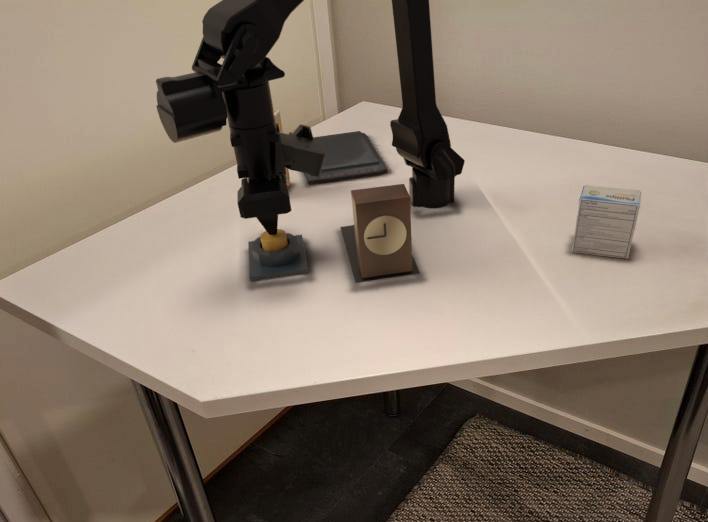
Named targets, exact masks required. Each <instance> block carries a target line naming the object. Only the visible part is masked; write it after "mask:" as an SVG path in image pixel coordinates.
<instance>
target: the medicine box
mask: <svg viewBox="0 0 708 522" xmlns="http://www.w3.org/2000/svg"><path fill="white" fill-rule="evenodd" d="M641 200H642V191H641V190H639V189H631V188H621V187H611V186H599V185H589V184H584V185H583V186H582V191H581V193H580V196H579V200H578V207H577V215H576V221H575V227H574V235H573V240H572V247H571V253H577V254H585V255H593V256H600V257H610V258H617V259H624V260H628V259H629V258H630V253H631V247H632V243H633V238H634V234H635V230H636V226H637V225H636V224H637V221H638V216H639V212H640V209H641V203H642V201H641Z"/></svg>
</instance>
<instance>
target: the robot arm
mask: <svg viewBox="0 0 708 522" xmlns="http://www.w3.org/2000/svg"><path fill="white" fill-rule="evenodd" d="M304 1H305V0H220V1H219V2H217V3H216V4H214V5H213V6H211V7H209V9H207V11H206V13H204V16H203V17H202V18H203V19H202V21H201V22H202V38H201V41H200V44H199V47H198V50H197V53H196V55H195V57H194V60H193V62H192V65H191V70H192V71H193V72H191V73H185V74H182V75H178V76H164V77H159V78H156V80H155V83H156V88H157V91H156V103H157V105H156V106H155V107H156V110H157V114H158V117H159V119H160V123H161V125H162V127H163V129H164V131H165V133H166V135H167V136H168V138H169V139H170V141H171V142H172V143H173V144H176V143H180V142H184V141H187V140H188V141H189V140H192V139H195V138H199V137H203V136H207V135H210V134H214V133H218V132H221V131H222V129H223V127H226V126H227V123H228V128H229V140H230V145H231V147H232V148H233V151H234V156H235V161H236V172H237V177H238V179H241V181H240V182H241V185H240V188H239V189H238V190H237V192H236V193H237V207H238V212H239V216H240V218H242V219H243V220H247V219H254V218H256V219H257V220H258V222H259V223H260V225H261V226H262V227H263V229H264V230H265V231H267V232H268V234H269V235H275V234H277V229H278V224H279V223H278V222H279V216H280V215H286V214H289V213H290V212H292V204H291V199H290V193H289V192H290V191H289V187H288V185H286V183H287V181H286V169H285V167H286V168H288V170H289V171H294V172H299V173H308V174H310V176H315V177H318V176H320V174H321V170H322V166H323V162H324V158H325V154H326V152H325V149H324V145H323V143H322V142H320V141H319V139H316V140H314V139H313V137H314V135H313V131H312V128H311V126H309V125H306V124H305V125H304V124H301V123H300V124H299V125H298V126H297V127H296V129H295V130H294V131H292V132H290V131H289V133H284V132H283V133H280V131H279V125H278V123H276V121H275V116H274V110H275V109H274V104H273V99H272V93H271V87H270V81H274V80H278V79H282V78H284V77H285V75H286V73H285V71H284V70H283V69H281V68H279V67H278V66H277V65H276V64H275V63H274V62H273V61H272V60H271V59H270V57H268V54H269V53H270V52H271V50H272V49H273V47H274V46H275V45H276V43H277V42H278V41H279V39H280V37H281V34H282V31H283V29H284V26H285V22H286V21H287V20H288V18H289V17H290V15H291V14H292V13H293V12H294V11H295V10H296V9H297V8H298V7H299V6H300V5H301V4H302V3H303V2H304ZM391 7H392V16H393V25H394V35H395V36H394V37H395V45H396V46H395V47H396V54H397V64H398V74H399V85H400V92H401V94H400V95H401V103H402V107H401V110H400V113H399V115H398V117H397V118H396V119H391V120H390V122H389V126H390V129H391V133H392V141H391V146H392V147H394V148H395V149H396V153H397V154H398V155H399V156H400V157H402V158H403V160H404V163H405V165H406V166H408V167H411V175H412V176H410V177H409V179H408V184H409V185H408V188H409V189H408V190H409V191H408V193H409V196H410V205H411V206H412V207H414V208H426V209H440V208H441V209H442V208H444V207H446V206H448V205H449V204H453V203H455V184H456V183H455V182H456V181H455V179H456V176H459V175H461V174H462V173H463V168H464V165H465V162H466V161H465V159H464V158H463V157H462V156H461V155H459V154H458V152H457V151H455V150H454V149H453V148H452V144H451V138H450V134H449V129H448V125H447V123H446V121H445V119H444V117H443V115H442V113H441V111H440V109H439V107H438V105H437V95H436V81H435V67H434V66H435V65H434V52H433V36H432V24H431V23H432V22H431V9H430V0H391ZM221 59H223V61H222V63H219V61H220V60H221Z"/></svg>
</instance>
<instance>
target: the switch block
mask: <svg viewBox="0 0 708 522" xmlns="http://www.w3.org/2000/svg"><path fill="white" fill-rule="evenodd" d="M286 236H287V241H288V246H287V247H286V248H284V249H282V250H278V251H265V250H264V249H263V248H262V243H261V238H260V236H259V237H257V238H256V239H255V240H249V241H248V242H247V243H248V244H247V245H248V247H247V248H248V274H249V276H248V277H249V281H250V282H256V281H263V280H271V279H278V278H286V277H293V276H300V275H307V274H309V268H308V262H307V256H306V252H305V251H306V250H305V243H304V238H303V234H295V235H294V234H292V233H289V232H286Z"/></svg>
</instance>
